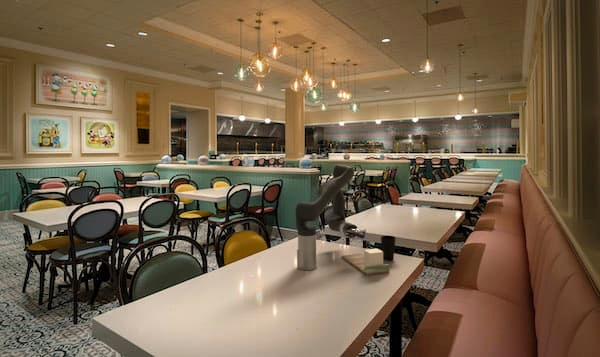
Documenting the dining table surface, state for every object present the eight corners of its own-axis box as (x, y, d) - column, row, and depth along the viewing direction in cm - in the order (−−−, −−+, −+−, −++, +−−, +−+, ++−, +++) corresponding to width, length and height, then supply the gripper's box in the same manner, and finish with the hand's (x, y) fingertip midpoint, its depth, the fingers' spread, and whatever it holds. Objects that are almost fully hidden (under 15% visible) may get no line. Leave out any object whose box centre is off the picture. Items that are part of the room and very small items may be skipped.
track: (341, 257, 191) (341, 250, 191) (361, 255, 194) (361, 248, 194) (366, 275, 163) (366, 267, 163) (389, 272, 167) (389, 264, 166)
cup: (397, 261, 183) (397, 239, 182) (382, 261, 183) (382, 239, 182) (393, 256, 190) (393, 235, 189) (379, 257, 191) (379, 235, 189)
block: (364, 267, 171) (364, 249, 170) (376, 266, 173) (376, 248, 172) (370, 271, 165) (370, 253, 165) (383, 270, 167) (383, 251, 167)
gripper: (337, 223, 192) (351, 229, 176) (359, 222, 196) (374, 228, 179) (337, 236, 193) (351, 244, 176) (359, 235, 196) (374, 242, 180)
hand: (363, 236), depth 178 cm, fingers closed
